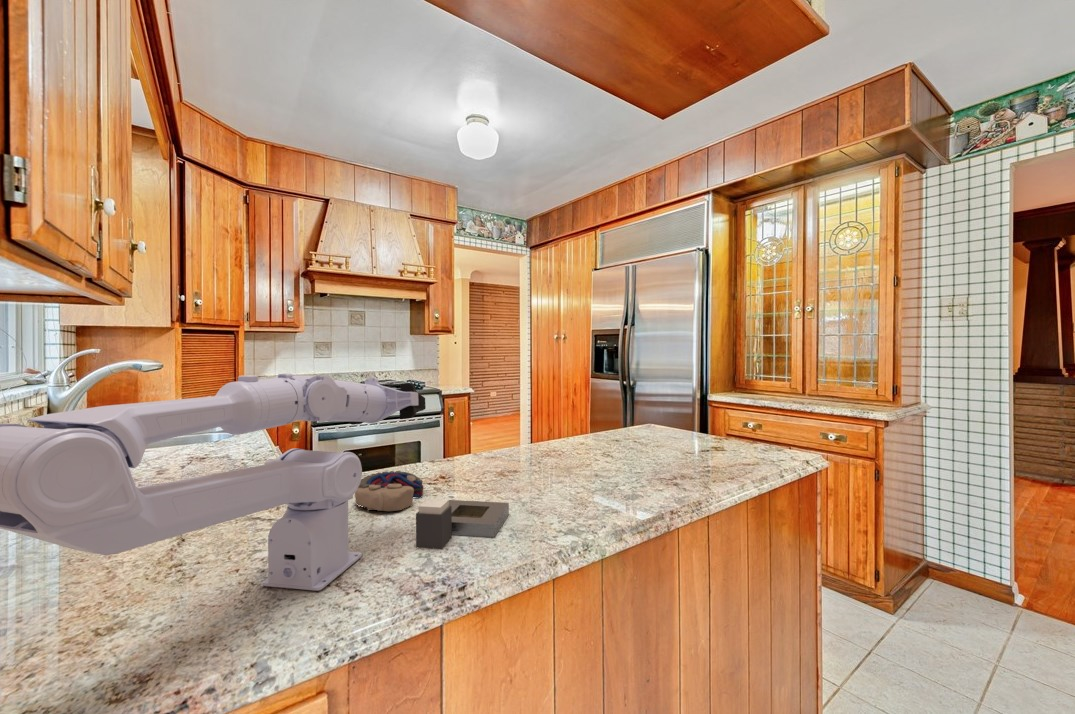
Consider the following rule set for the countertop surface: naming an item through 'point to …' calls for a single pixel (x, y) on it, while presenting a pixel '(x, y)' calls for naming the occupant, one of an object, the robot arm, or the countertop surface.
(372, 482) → the anatomical model
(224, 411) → the robot arm
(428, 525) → the plug
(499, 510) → the socket plate
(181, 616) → the countertop surface
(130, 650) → the countertop surface
